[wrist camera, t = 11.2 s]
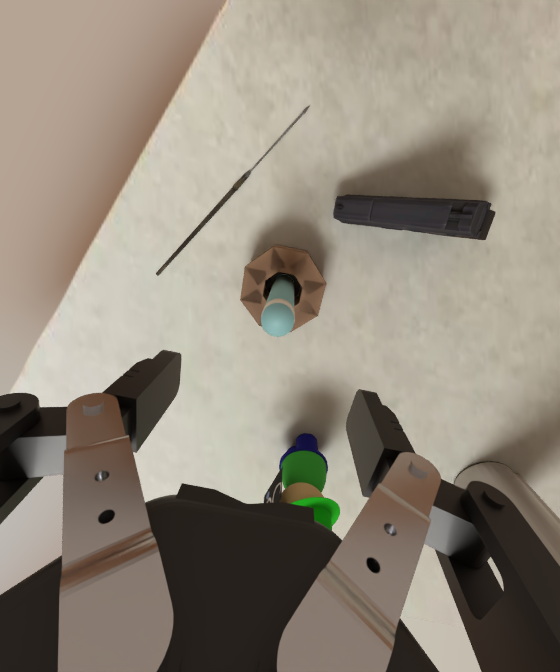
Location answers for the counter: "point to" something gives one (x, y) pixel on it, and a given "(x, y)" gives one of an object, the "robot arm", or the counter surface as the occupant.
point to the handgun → (417, 214)
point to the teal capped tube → (279, 307)
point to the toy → (304, 481)
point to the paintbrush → (220, 204)
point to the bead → (285, 262)
